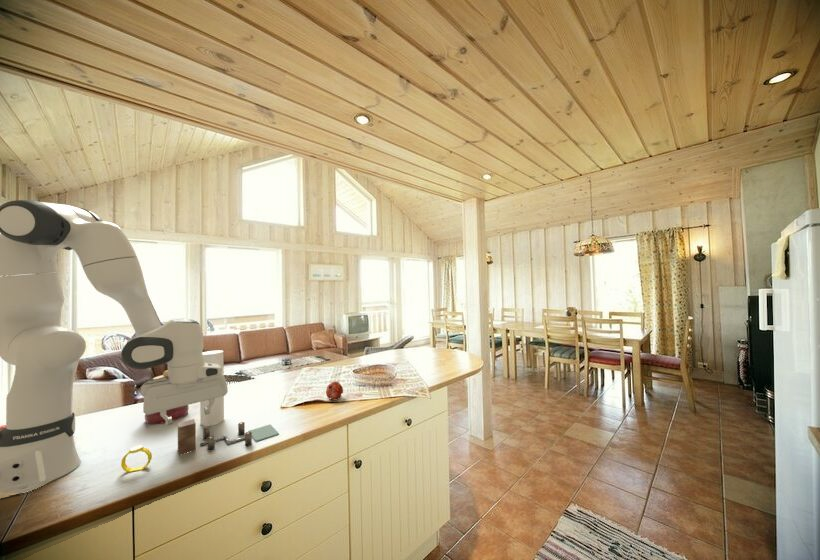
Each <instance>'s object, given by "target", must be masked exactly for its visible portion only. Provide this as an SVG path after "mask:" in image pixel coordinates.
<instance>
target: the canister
mask: <svg viewBox="0 0 820 560" xmlns="http://www.w3.org/2000/svg"><path fill="white" fill-rule="evenodd" d="M167 376H168V369H167V370H164V371H163V373H162V375H161V374H160V375H158V376H155V377H153V378H152V379H158V378H162V377H167ZM189 406H190V405H185V406H181V407H177V408H173V409H169V410H166V415H167V416H168V417H171V416H172V422H173V421H176V420H179V419H181V418H183V417H185V416H187V415H188V413H189ZM144 414H145V413H144ZM144 420H145V423H147V424H149V425H158V424H164V423H165V422H166V421H165V420H164V419H163V418H162V417H161V416H160V412H157V413H153V414H149V415H147V414H145V415H144ZM165 424H166V423H165Z"/></svg>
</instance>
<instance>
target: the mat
mask: <svg viewBox="0 0 820 560" xmlns="http://www.w3.org/2000/svg"><path fill="white" fill-rule="evenodd" d="M247 432H252V440H253V441H254V442H255V443H257V442H260V441H264V440H266V439H270V438H272V437H275V436H276V437H277V436H278V435H280V433H279V431H277V430H276V428H274V426H273V425H271V424H266V425H263V426H260V427H258V428H257V427H256V428H254V429H250V430H248V431H247Z"/></svg>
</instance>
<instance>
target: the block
mask: <svg viewBox="0 0 820 560" xmlns="http://www.w3.org/2000/svg"><path fill="white" fill-rule="evenodd" d="M196 424H197V423H196V421H195V419H194V418H192V419H189V420H185V421H179V422H177V453H178V456H182V455H185V454H188V453H187V452H189V453H191V452H190V451H192V452H195V451H196V449H197V448H196V447H197V443H196V442H197V437H196V436H197V435H196V433H197V432H196V430H197V429H196ZM194 450H195V451H194ZM184 453H185V454H184ZM181 454H182V455H181Z"/></svg>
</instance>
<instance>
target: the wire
mask: <svg viewBox="0 0 820 560" xmlns="http://www.w3.org/2000/svg"><path fill="white" fill-rule="evenodd" d="M222 440H224V441H225V443H226V444H227V445H231V444H234V443H237V442H241V441H245V436H242V437H239V438H236V439H232V440H230V439H229V438H228V436H227V435H223V436H221V437H217V438H215V442H218V441H222ZM199 445H200V447H201V446H205V445H206V446H207V440H205V441H204V442H203V441H202V442H200V444H199Z"/></svg>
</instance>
